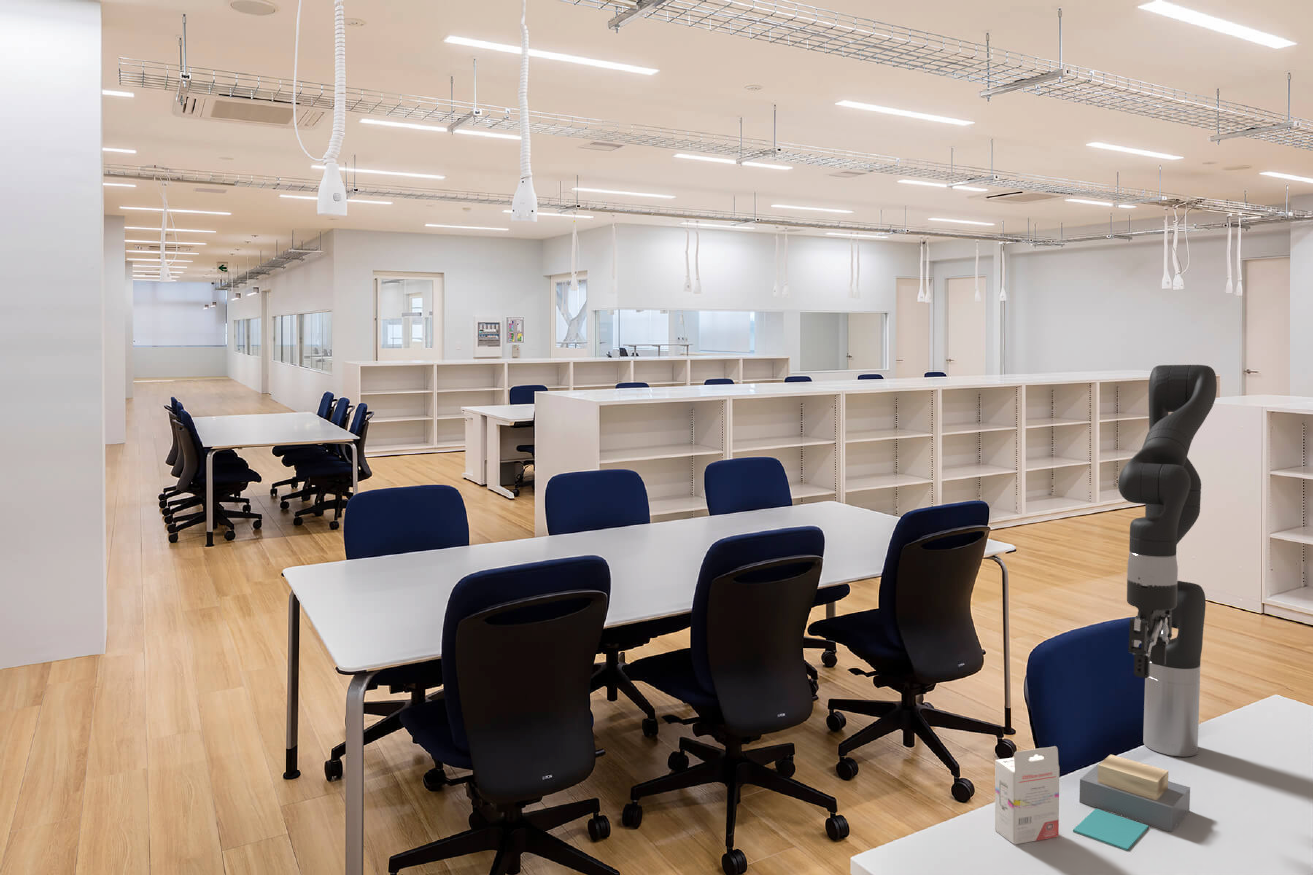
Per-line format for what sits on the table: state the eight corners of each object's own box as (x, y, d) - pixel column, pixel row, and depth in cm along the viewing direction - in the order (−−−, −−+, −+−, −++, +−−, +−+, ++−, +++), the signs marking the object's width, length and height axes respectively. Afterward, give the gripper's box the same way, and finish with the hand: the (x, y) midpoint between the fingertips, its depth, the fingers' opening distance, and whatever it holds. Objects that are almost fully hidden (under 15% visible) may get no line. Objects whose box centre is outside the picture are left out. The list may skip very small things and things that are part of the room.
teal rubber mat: (1095, 809, 144) (1095, 808, 144) (1148, 827, 138) (1148, 825, 138) (1072, 831, 137) (1072, 829, 137) (1127, 850, 131) (1127, 848, 131)
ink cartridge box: (1037, 822, 140) (1039, 734, 139) (1059, 837, 135) (1061, 746, 135) (992, 829, 138) (994, 740, 137) (1013, 845, 133) (1015, 753, 132)
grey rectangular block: (1100, 783, 154) (1101, 761, 154) (1189, 810, 144) (1190, 787, 144) (1079, 801, 147) (1079, 779, 147) (1171, 831, 137) (1171, 807, 137)
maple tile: (1110, 771, 150) (1110, 754, 150) (1167, 788, 143) (1168, 770, 143) (1097, 781, 146) (1098, 764, 145) (1156, 800, 139) (1157, 782, 139)
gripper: (1142, 568, 155) (1140, 656, 156) (1113, 582, 146) (1111, 675, 147) (1189, 575, 150) (1187, 665, 151) (1162, 589, 140) (1160, 686, 141)
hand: (1150, 670), depth 149 cm, fingers open, 8 cm apart
